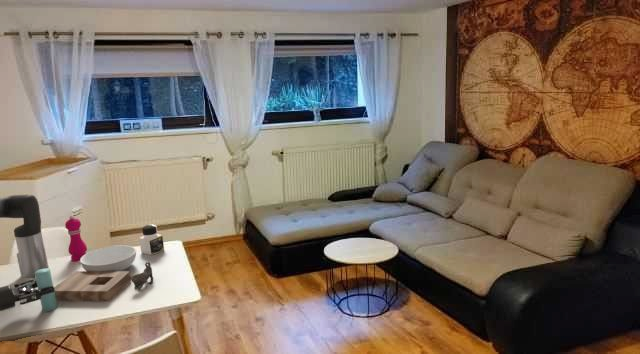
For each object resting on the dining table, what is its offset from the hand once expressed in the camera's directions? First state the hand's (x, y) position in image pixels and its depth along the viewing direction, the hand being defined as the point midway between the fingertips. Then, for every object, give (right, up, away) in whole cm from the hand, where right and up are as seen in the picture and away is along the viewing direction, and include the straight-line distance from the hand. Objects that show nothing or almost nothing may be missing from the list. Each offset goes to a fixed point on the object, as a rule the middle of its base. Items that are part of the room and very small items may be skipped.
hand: (51, 284), depth 164 cm
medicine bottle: (+18, +4, +47) cm, 51 cm away
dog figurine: (+26, -4, +14) cm, 30 cm away
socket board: (+8, -5, +12) cm, 16 cm away
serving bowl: (+7, -1, +30) cm, 31 cm away
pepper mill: (-12, +1, +43) cm, 45 cm away
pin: (-1, -9, +1) cm, 9 cm away
